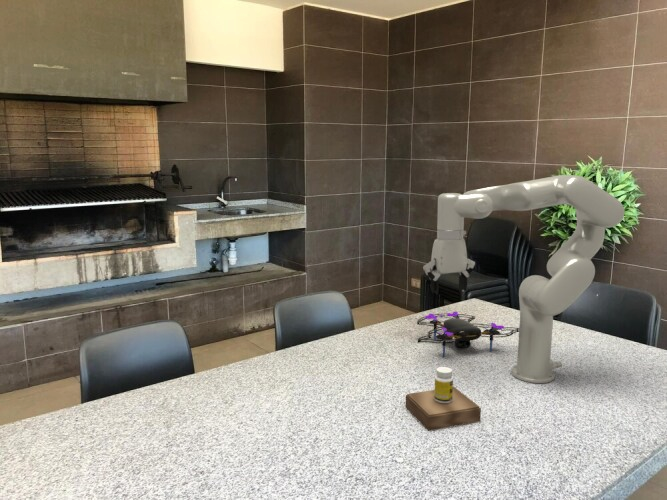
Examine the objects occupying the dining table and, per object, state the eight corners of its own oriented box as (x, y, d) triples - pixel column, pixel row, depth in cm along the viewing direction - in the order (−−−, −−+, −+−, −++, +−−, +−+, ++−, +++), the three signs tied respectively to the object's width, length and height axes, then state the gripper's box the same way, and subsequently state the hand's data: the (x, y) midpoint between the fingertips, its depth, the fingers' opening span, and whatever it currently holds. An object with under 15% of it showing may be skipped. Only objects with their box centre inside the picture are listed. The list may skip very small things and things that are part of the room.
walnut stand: (453, 399, 147) (454, 386, 146) (480, 421, 135) (481, 406, 134) (405, 407, 143) (405, 393, 142) (428, 430, 130) (428, 415, 130)
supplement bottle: (452, 404, 135) (453, 374, 134) (434, 403, 136) (434, 372, 135) (452, 396, 140) (453, 366, 139) (434, 395, 141) (435, 365, 140)
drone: (422, 337, 169) (389, 313, 196) (421, 366, 171) (389, 338, 197) (528, 326, 180) (483, 305, 207) (526, 353, 182) (482, 328, 208)
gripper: (467, 231, 161) (466, 285, 164) (418, 235, 155) (417, 291, 158) (482, 234, 154) (480, 291, 157) (431, 238, 149) (430, 297, 151)
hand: (448, 291), depth 158 cm, fingers open, 9 cm apart
